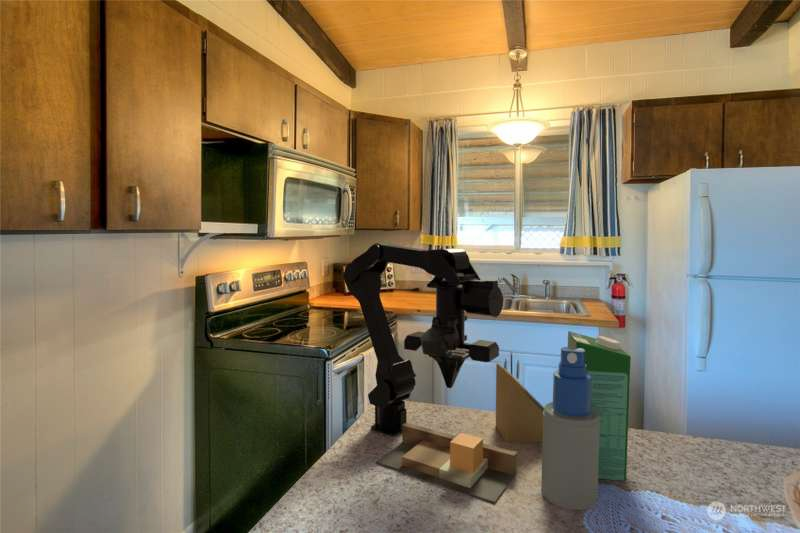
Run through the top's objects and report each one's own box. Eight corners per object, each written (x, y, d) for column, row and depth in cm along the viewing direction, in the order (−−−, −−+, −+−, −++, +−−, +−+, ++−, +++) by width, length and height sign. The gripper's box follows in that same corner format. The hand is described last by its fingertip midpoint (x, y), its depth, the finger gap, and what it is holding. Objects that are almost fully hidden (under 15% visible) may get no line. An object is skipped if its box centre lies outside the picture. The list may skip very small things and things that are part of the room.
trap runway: (375, 463, 85) (375, 442, 85) (405, 440, 94) (406, 422, 94) (494, 503, 72) (495, 480, 72) (516, 473, 81) (516, 452, 81)
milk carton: (626, 481, 79) (631, 343, 77) (572, 476, 81) (576, 340, 79) (612, 456, 88) (617, 332, 86) (564, 452, 89) (567, 330, 88)
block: (449, 466, 80) (450, 442, 80) (460, 455, 84) (460, 432, 84) (472, 473, 78) (473, 448, 77) (482, 462, 82) (483, 438, 81)
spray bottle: (595, 516, 69) (600, 358, 67) (536, 500, 73) (539, 351, 72) (599, 487, 77) (603, 345, 75) (546, 474, 81) (549, 340, 79)
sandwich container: (577, 440, 95) (579, 372, 94) (507, 443, 93) (509, 374, 92) (559, 423, 104) (560, 360, 102) (495, 426, 102) (496, 362, 101)
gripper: (389, 312, 87) (389, 390, 88) (478, 322, 77) (477, 410, 78) (417, 305, 96) (417, 375, 97) (500, 313, 86) (499, 391, 87)
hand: (449, 387), depth 90 cm, fingers closed
